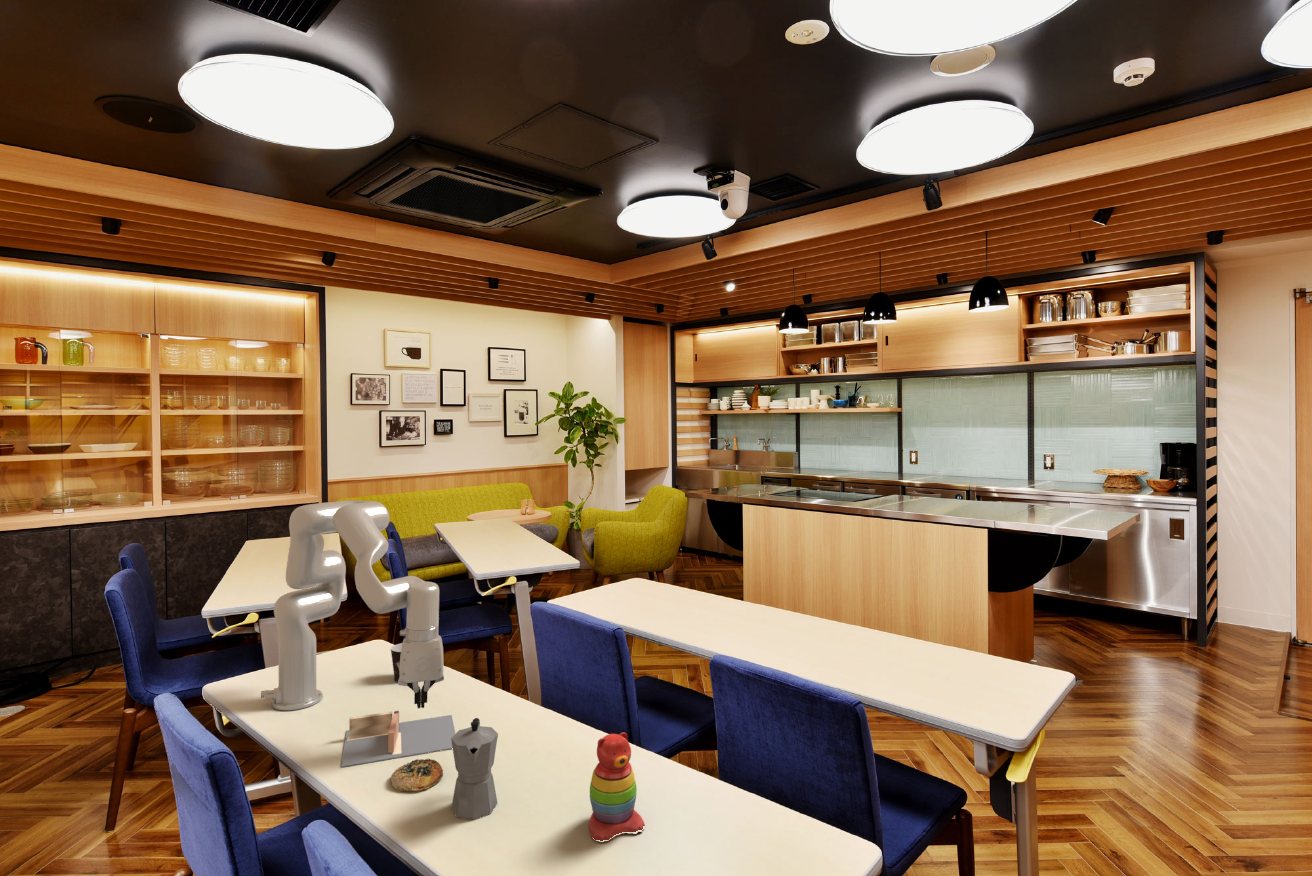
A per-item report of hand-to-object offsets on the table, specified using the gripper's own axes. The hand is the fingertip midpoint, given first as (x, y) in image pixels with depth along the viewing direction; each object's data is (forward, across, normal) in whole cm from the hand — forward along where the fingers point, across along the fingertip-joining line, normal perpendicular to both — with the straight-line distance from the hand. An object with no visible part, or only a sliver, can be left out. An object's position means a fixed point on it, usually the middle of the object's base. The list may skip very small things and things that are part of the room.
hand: (420, 705), depth 164 cm
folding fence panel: (+9, -6, +2) cm, 11 cm away
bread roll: (+10, -1, -18) cm, 20 cm away
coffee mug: (+11, -1, +44) cm, 46 cm away
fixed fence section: (+10, -11, +8) cm, 17 cm away
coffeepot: (+9, +10, -32) cm, 34 cm away
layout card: (+10, -4, +4) cm, 11 cm away
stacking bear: (+8, +35, -49) cm, 60 cm away
